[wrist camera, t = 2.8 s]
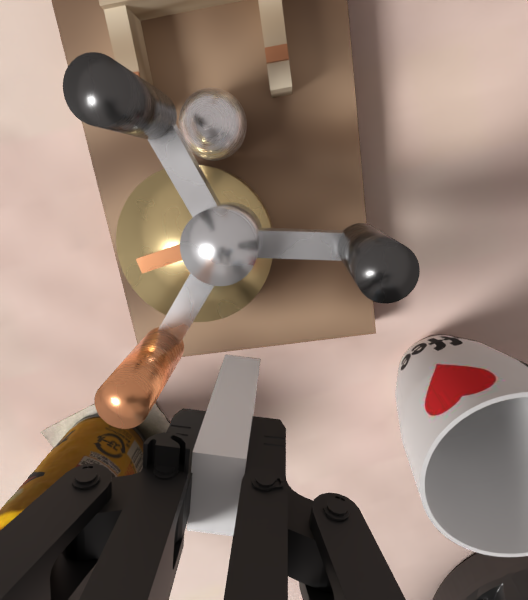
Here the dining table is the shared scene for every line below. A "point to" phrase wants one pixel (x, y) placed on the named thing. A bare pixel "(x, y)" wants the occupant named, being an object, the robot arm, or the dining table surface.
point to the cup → (468, 441)
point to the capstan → (200, 236)
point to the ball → (213, 123)
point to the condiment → (85, 453)
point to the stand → (245, 142)
